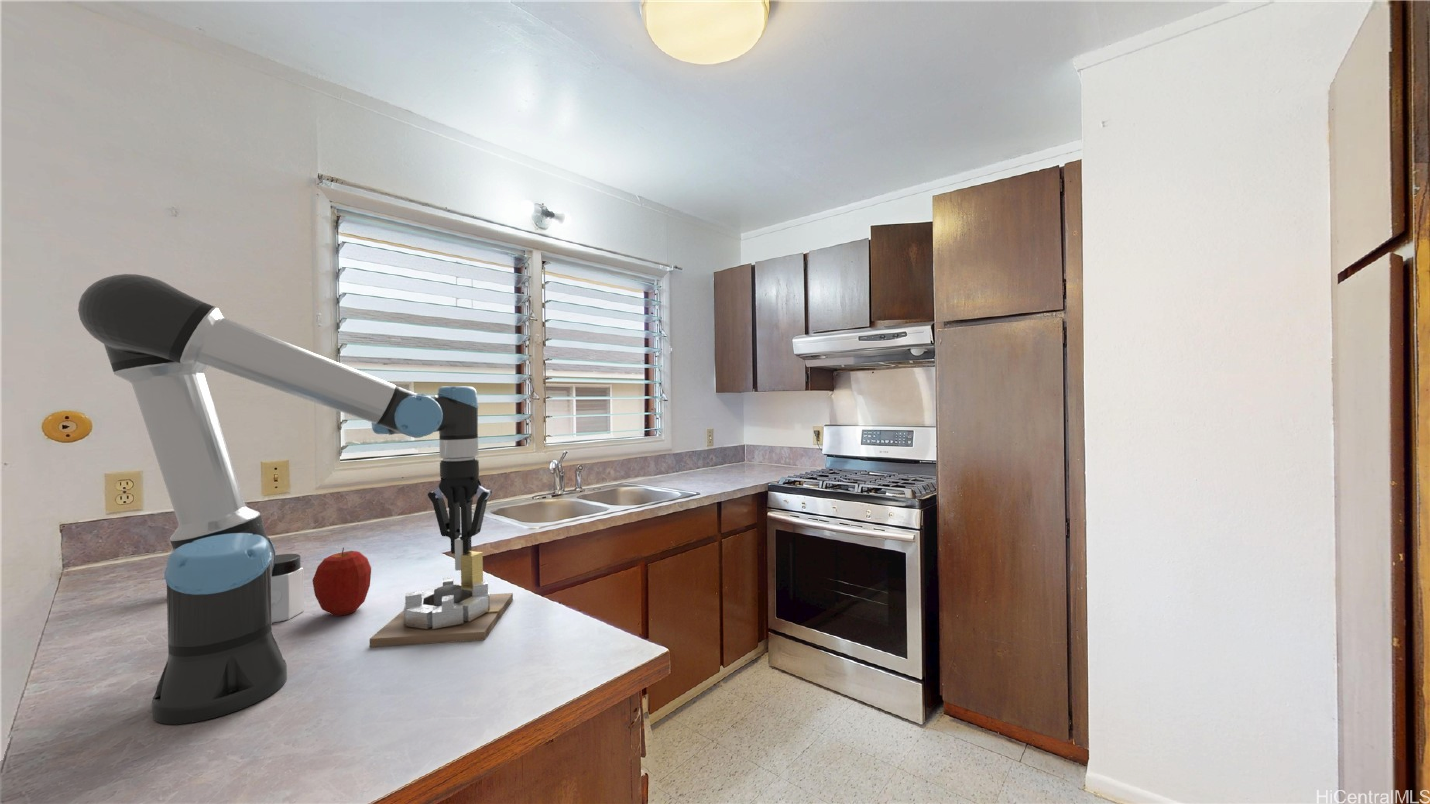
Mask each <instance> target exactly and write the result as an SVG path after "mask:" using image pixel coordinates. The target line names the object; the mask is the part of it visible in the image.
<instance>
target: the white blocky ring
mask: <svg viewBox="0 0 1430 804" xmlns="http://www.w3.org/2000/svg"><path fill="white" fill-rule="evenodd" d="M483 553H484V552H483V551H473V550H471V552H469V553H468V554H462V555H461V570H460V577H461V578H460V583H457V584H456V585H460V586H462V601H461V602H459V603H455V604H454V595H449V596H443V597H442V606H434V590H435V589H437V588H439V587H440V586H437V587H434V589H431V588H428V589H427V590H424V591H423V590H418V591H412V592H411V591H410V592H406V593H405V597H404V599H405V601H404V606H403V610H404V624H406V626H410V627H416V628H423V629H429V628H431V627H433V629H436V628H441V627H447V626H452V625H458V624H463V621H467V622H469V621H471V620H473V619H475V618H477V617H479V616H481V615H483V614H484V613H486V612H488V610H490V590H489V582H488V580H485V581H484V569H483V568H484V560H483V555H484V554H483ZM446 585H454V576H450V577H443V578H442V586H446Z"/></svg>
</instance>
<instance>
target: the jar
mask: <svg viewBox="0 0 1430 804" xmlns="http://www.w3.org/2000/svg"><path fill="white" fill-rule="evenodd" d="M301 565H302V564H301V555H300V554H297V553H283V554H276V557H275V564H274V567H273V570H272V576H271V619H272V620H271V624H274V623H280V622H283V621H288V620H291V619H293V618H294V617H296V616H297V615H300V614H301V613H303V612H304V611H305V593H304V592H305V591H304V589H305V588H304V587H305V585H304V568H303V567H301Z"/></svg>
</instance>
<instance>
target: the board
mask: <svg viewBox="0 0 1430 804" xmlns="http://www.w3.org/2000/svg"><path fill="white" fill-rule="evenodd" d="M438 587H439V588H437V587H436V588H437V589H435V588H434V589H435V590H434V589H433V590H434V606H442V597H443V596H449V595H454V604H455V603H459V602H461V601H462V586H460V585H457V584H453V585H446V586H443V585H442V586H438ZM489 594H490V593H489ZM513 596H514V593H513V592H508V593H491V594H490V610H488V612H486V613H484V614H483V615H481V616H479V617H477V618H475V619H473V620H471V621H469V622H467V621H463V624H458V625H452V626H447V627H441V628H436V629H433V627H431V628H429V629H423V628H416V627H410V626H406V624H404V609H403V610H402V611H401V612H400V613H398V614H397V615H396V616H394V617H393V618H392V619H391V620H390V621H389V622H388V623H386V624H385V625H383V627H382V628H380V629H379V630H378V631H376V633H375V634H373V635H372V636H371V637H370V638H369V648H377V647H392V646H393V647H394V646H406V645H407V646H408V645H425V644H441V643H452V642H453V643H455V642H471V641H472V642H473V641H485V640H486V638H488V636H489V634H490V633H491V631H492V630H494V628H495V626H496V625H497V623H498V622H499V620H500V619H501V617H502V616H503V615H504V613H505V612H506V611H507V609H508V607H509V606H510V604H511V603H512V602H513V600H514V597H513Z"/></svg>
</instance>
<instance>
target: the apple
mask: <svg viewBox="0 0 1430 804" xmlns="http://www.w3.org/2000/svg"><path fill="white" fill-rule="evenodd" d="M344 550H345V549H344V547H342V551H341V552H338V553H335V554H332V555H330V556H327V557H325V558H323V560H322V561H321V562H320V563H319V564H318V566H317V568H316V571H315V574H314V576H313V578H312V586H313V592H314V597H315V598H316V600H317V602H318V604H319V606H320V608H321V610H322V611H324V612H326V613H329V614H330V615H332V616H334V617H335V616H336V617H338V616H339V617H340V616H346V615H350V614H353V613H355V612H356V611H357V610H358V609H359V608H360V607H361V605H363V604H364V603H365V601H366V599H367V596H368V592H369V589H370V587H371V578H372V577H371V576H372V566H371V564H370V561H369V559H368V557H366V556H365V555H364V554H363V553H362V552H360V551H357V550H348V551H344Z"/></svg>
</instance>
